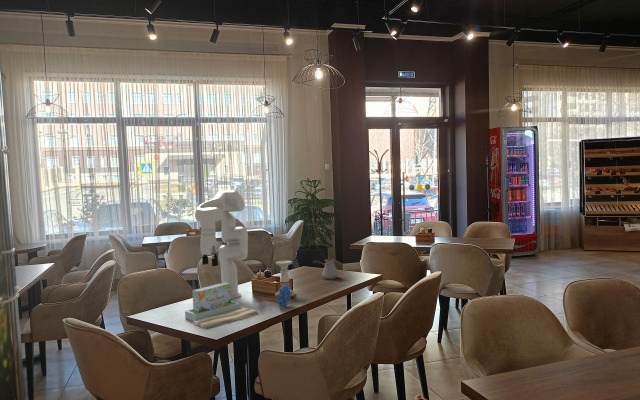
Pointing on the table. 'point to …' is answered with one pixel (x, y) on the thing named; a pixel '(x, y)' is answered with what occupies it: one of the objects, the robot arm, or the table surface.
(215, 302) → the snack box
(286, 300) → the grapes
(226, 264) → the robot arm
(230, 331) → the table surface
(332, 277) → the coffee pot
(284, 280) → the candle holder
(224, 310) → the bin
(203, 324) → the board
